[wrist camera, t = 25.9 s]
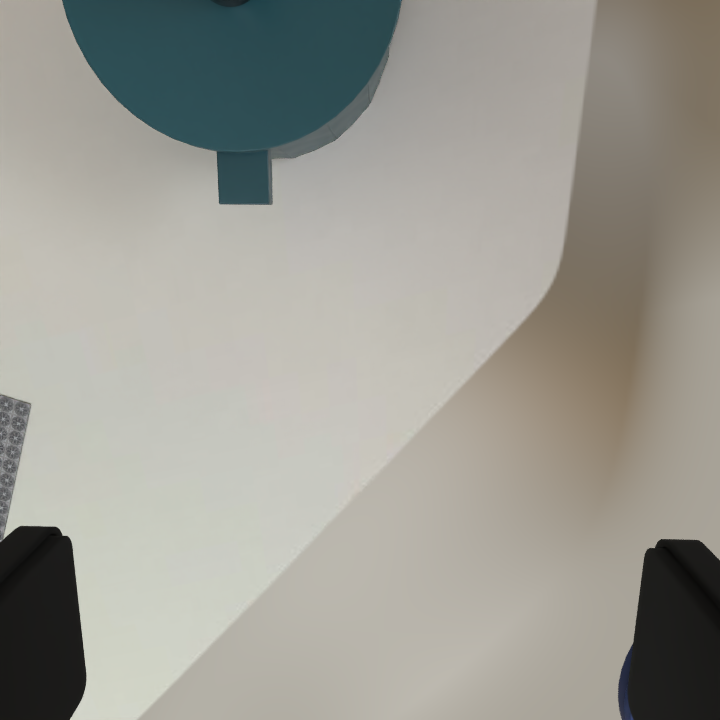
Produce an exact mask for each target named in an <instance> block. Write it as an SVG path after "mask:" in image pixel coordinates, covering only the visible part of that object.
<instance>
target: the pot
mask: <svg viewBox="0 0 720 720" xmlns="http://www.w3.org/2000/svg"><path fill="white" fill-rule="evenodd" d="M388 57H389V48H388V50H387V52H386V54H385V57H384V59H383V61H382V63H381V65H380V67H379V68H378V70H377V72H376V73H375V75H374V76H373V78H372V79H371V81H370V83H369V84H368V86H367V87H366V88H365V89H364V91H363V92H362V93H361V94H360V95H359V97H358V98H357V99H356V100H355V101H354V103H353V104H352V105H351V106H349V107H348V108H347V109H346V110H345V111H344V112H343V113H342V114H341V115H340V116H339V117H338V118H336V119H335V120H334V121H332V122H331V123H329V124H328V125H326V126H325V127H324V128H322V129H321V130H319V131H318V132H316V133H314V134H312V135H310V136H308V137H306V138H304V139H302V140H300V141H297V142H295V143H292V144H289V145H286V146H283V147H281V148H276V149H271V150H266V151H261V152H249V153H230V152H217V167H218V190H219V204H246V205H272V203H273V201H272V159H275V158H296V157H298V156H300V155H303V154H305V153H308V152H311V151H314V150H317V149H319V148H320V147H322V146H324V145H326V144H328V143H330V142H333V141H335V140H336V139H338V138H339V137H340V136H341V134H343V133H344V132H345V131H346V130H347V129H348V128H349V127H350V126H351V125H352V124H353V123H354V122H355V121H356V120H357V119H358V117H359V116H360V115H361V114H362V113H363V111H364V110H365V109H366V108H367V107H368V106H369V104H370V103H371V100H372V98H373V95H374V93H375V91H376V89H377V86H378V84H379V82H380V79H381V76H382V73H383V70H384V68H385V65H386V63H387V60H388Z"/></svg>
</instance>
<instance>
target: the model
mask: <svg viewBox="0 0 720 720" xmlns="http://www.w3.org/2000/svg"><path fill="white" fill-rule="evenodd" d="M30 406H31V404H28V403H25V402H21V401H18V400H15V399H12V398H9V397H5V396H2V395H0V542H1V541H2V540H3V535H4V530H5V525H6V521H7V516H8V511H9V506H10V501H11V497H12V492H13V487H14V482H15V477H16V473H17V468H18V463H19V458H20V454H21V449H22V444H23V439H24V434H25V430H26V425H27V420H28V415H29V410H30Z"/></svg>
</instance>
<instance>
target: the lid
mask: <svg viewBox="0 0 720 720" xmlns="http://www.w3.org/2000/svg"><path fill="white" fill-rule="evenodd" d="M62 1H63V5H64V9H65V12H66V16H67V19H68V22H69V24H70V27H71V29H72V32H73V34H74V37H75V39H76V42H77V44H78V45H79V47H80V49H81V51H82V53H83V55H84V57H85V59H86V60H87V62H88V64H89V65H90V67H91V68H92V70H93V71H94V72H95V74H96V75H97V77H98V78H99V80H100V81H101V83H102V84H103V85H104V86H105V87H106V88H107V89H108V90H109V92H110V93H111V94H112V95H113V96H114V97H115V98H116V99H117V101H119V102H120V103H121V104H122V105H123V106H124V107H125V108H127V109H128V110H129V111H130V112H131V113H132V114H133V115H134V116H136V117H137V118H139V119H140V120H142V121H143V122H145V123H146V124H147V125H149V126H150V127H152V128H153V129H155V130H157V131H159V132H161V133H163V134H165V135H167V136H169V137H171V138H173V139H175V140H178V141H181V142H184V143H187V144H189V145H192V146H195V147H199V148H203V149H208V150H213V151H217V152H230V153H249V152H261V151H266V150H271V149H276V148H281V147H283V146H286V145H289V144H292V143H295V142H297V141H300V140H302V139H304V138H306V137H308V136H310V135H312V134H314V133H316V132H318V131H319V130H321V129H322V128H324V127H325V126H326V125H328V124H329V123H331V122H332V121H334V120H335V119H336V118H338V117H339V116H340V115H341V114H342V113H343V112H344V111H345V110H346V109H347V108H348V107H349V106H351V105H352V104H353V103H354V101H355V100H356V99H357V98H358V97H359V95H360V94H361V93H362V92H363V91H364V89H365V88H366V87H367V86H368V84H369V83H370V81H371V79H372V78H373V76H374V75H375V73H376V72H377V70H378V68H379V67H380V65H381V63H382V61H383V59H384V57H385V54H386V52H387V50H388V48H389V46H390V43H391V40H392V37H393V34H394V31H395V28H396V25H397V22H398V17H399V12H400V8H401V3H402V0H62Z"/></svg>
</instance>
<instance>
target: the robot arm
mask: <svg viewBox="0 0 720 720" xmlns="http://www.w3.org/2000/svg"><path fill="white" fill-rule="evenodd" d="M85 686H86V667H85V658H84V649H83V640H82V631H81V622H80V613H79V604H78V595H77V585H76V576H75V567H74V558H73V549H72V543H71V540H70V538H69V537H68V536H62V533H61V531H60V529H58V528H57V527H42V526H20V527H18V528H16V529H15V530H14V531H13V532H11V533H10V534H9V535H8V536H7V537H6V538H5V539H4V540H2V541H1V542H0V720H70V718H71V717H72V715H73V713H74V712H75V710H76V708H77V707H78V705H79V703H80V701H81V699H82V697H83V694H84V691H85ZM627 695H628V704H629V708H630V712H631V715H632V717H633V719H634V720H720V560H719V559H718V558H717V557H716V556H715V555H714V554H713V553H712V552H711V551H710V550H709V549H708V548H707V547H706V546H705V545H704V544H703V543H702V542H700V541H699V540H675V539H673V540H672V539H661V540H659V541H658V542H657V544H656V547H655V548H649V549H648V550H647V551H646V553H645V557H644V563H643V572H642V579H641V587H640V595H639V603H638V611H637V618H636V626H635V634H634V642H633V650H632V658H631V666H630V673H629V681H628V691H627Z"/></svg>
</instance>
